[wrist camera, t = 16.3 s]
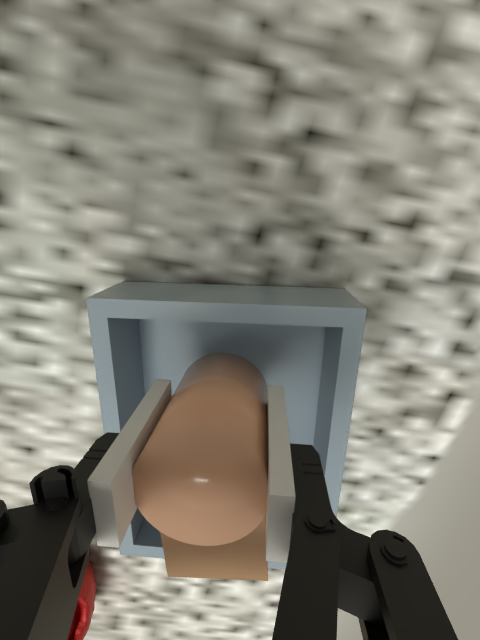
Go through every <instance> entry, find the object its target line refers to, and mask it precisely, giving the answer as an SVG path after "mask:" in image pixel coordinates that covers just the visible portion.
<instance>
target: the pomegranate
mask: <svg viewBox="0 0 480 640" xmlns="http://www.w3.org/2000/svg"><path fill="white" fill-rule="evenodd" d="M95 595H96V581H95V576H94V571H93V568H92V566H91V564H90V563H89V562H88V565H87V569H86V573H85V576H84V580H83V584H82V587H81V591H80V595H79V598H78V602H77V606H76V609H75V613H74V617H73V621H72V624H71V628H70V632H69V635H68V639H67V640H83V638H84V637H85V635H86V633H87V631H88V628H89V625H90V622H91V617H92V613H93V611H94V601H95Z"/></svg>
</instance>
